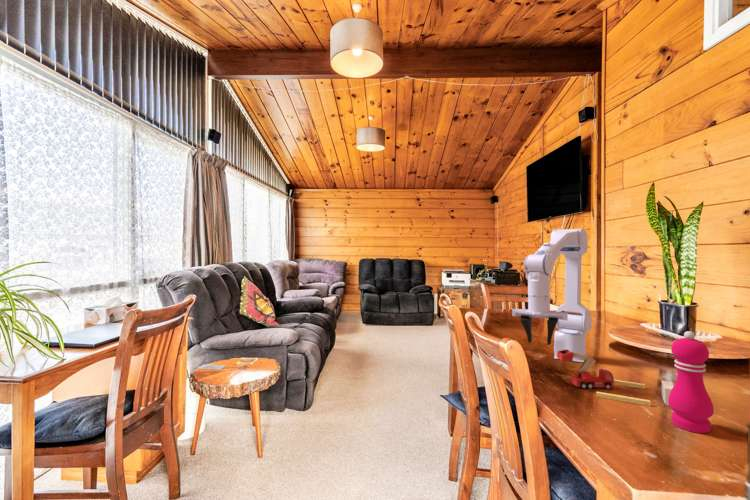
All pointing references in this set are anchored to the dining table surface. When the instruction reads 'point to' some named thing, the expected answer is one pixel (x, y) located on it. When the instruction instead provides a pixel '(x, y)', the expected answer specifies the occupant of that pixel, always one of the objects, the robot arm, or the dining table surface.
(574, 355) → the toy fire truck
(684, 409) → the pepper mill
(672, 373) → the dining table surface
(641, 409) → the dining table surface
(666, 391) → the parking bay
